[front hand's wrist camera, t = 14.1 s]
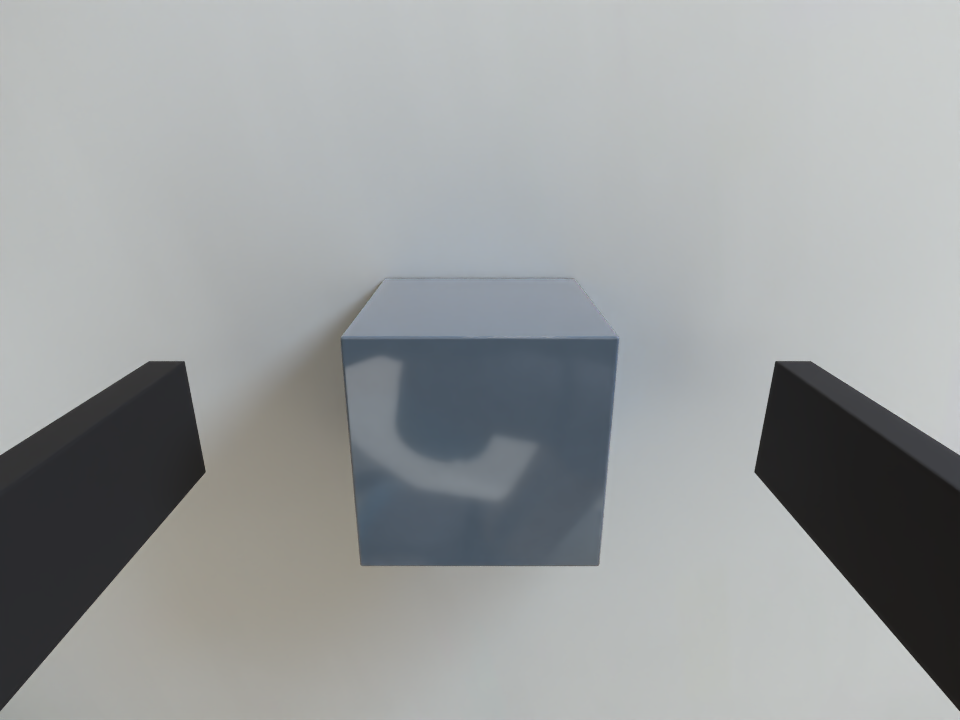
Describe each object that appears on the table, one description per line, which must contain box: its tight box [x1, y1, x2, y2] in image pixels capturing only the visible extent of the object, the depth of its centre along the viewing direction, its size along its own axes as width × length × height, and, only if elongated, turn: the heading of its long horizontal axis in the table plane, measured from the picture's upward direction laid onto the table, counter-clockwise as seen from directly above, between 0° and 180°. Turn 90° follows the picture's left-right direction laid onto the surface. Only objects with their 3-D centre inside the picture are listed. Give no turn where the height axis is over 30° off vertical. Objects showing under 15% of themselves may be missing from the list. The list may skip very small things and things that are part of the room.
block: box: [340, 278, 619, 566], centre depth 13 cm, size 5×5×5 cm
